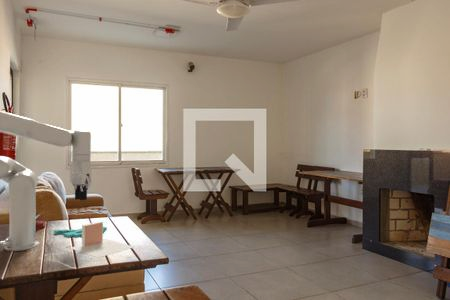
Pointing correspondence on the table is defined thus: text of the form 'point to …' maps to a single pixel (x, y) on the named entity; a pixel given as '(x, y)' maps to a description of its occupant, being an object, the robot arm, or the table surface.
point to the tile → (92, 234)
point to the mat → (102, 248)
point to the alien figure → (72, 232)
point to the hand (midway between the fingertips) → (80, 199)
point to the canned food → (40, 223)
